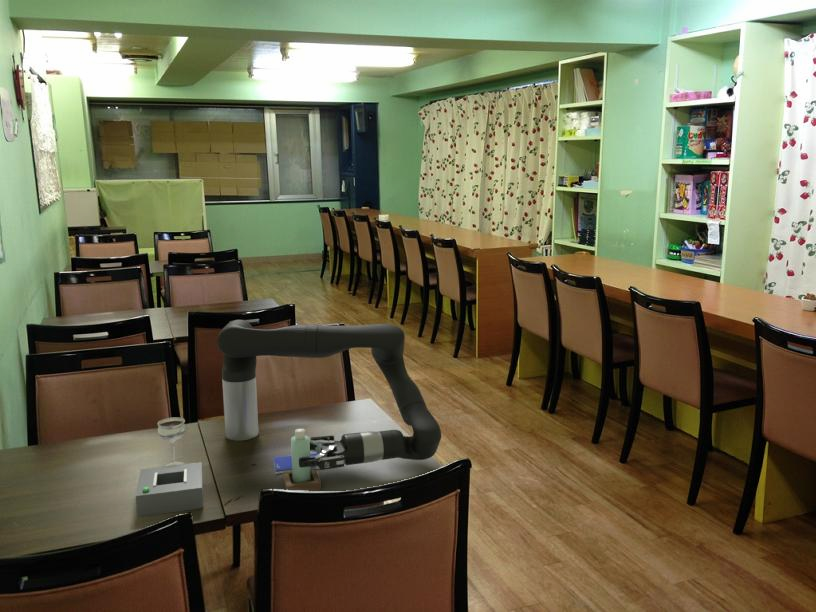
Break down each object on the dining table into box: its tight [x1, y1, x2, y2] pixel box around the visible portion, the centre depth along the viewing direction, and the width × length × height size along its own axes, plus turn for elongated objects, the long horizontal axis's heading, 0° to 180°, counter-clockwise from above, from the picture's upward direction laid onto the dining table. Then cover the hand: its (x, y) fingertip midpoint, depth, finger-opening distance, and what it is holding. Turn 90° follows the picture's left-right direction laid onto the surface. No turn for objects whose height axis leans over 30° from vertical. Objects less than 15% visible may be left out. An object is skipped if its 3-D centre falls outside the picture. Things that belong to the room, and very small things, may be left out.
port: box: [135, 461, 204, 518], centre depth 160 cm, size 14×14×6 cm
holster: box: [282, 468, 322, 492], centre depth 167 cm, size 8×8×2 cm
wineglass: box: [157, 417, 186, 466], centre depth 176 cm, size 7×7×12 cm
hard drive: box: [272, 452, 320, 475], centre depth 178 cm, size 2×8×12 cm
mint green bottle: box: [290, 428, 312, 484], centre depth 165 cm, size 4×4×14 cm
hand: (296, 455), depth 165 cm, fingers open, 8 cm apart
